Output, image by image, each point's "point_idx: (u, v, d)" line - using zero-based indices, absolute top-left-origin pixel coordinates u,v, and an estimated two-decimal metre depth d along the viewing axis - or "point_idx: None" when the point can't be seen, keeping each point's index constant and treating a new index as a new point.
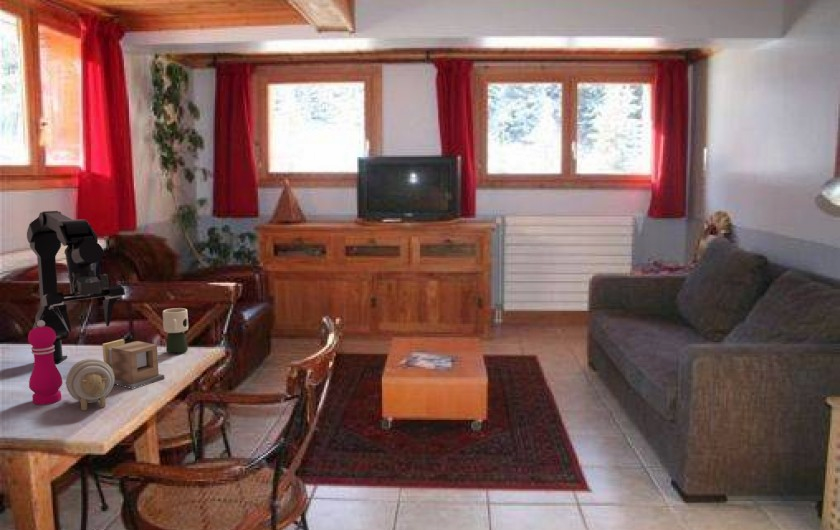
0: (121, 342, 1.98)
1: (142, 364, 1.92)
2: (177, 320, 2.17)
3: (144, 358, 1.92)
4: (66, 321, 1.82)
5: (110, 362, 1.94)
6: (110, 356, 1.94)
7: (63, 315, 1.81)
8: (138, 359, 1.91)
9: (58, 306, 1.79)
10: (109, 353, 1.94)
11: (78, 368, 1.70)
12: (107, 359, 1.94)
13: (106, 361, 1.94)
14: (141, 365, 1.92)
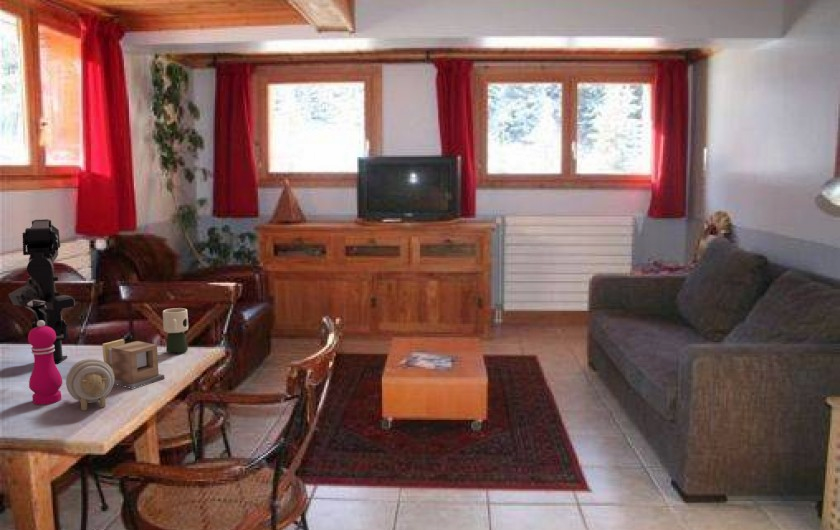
0: (121, 342, 1.98)
1: (142, 364, 1.92)
2: (177, 320, 2.17)
3: (144, 358, 1.92)
4: (38, 320, 1.98)
5: (110, 362, 1.94)
6: (110, 356, 1.94)
7: (35, 315, 1.97)
8: (138, 359, 1.91)
9: (26, 307, 1.96)
10: (109, 353, 1.94)
11: (78, 368, 1.70)
12: (107, 359, 1.94)
13: (106, 361, 1.94)
14: (141, 365, 1.92)
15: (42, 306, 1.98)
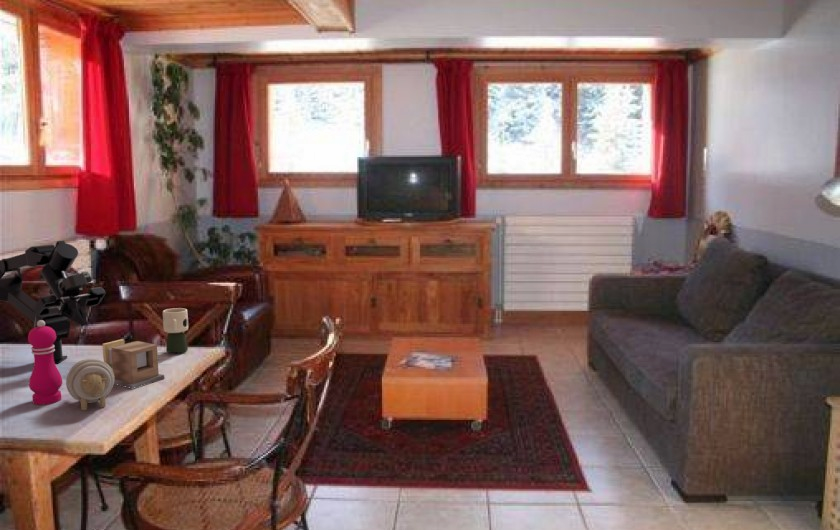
0: (121, 342, 1.98)
1: (142, 364, 1.92)
2: (177, 320, 2.17)
3: (144, 358, 1.92)
4: (79, 315, 2.01)
5: (110, 362, 1.94)
6: (110, 356, 1.94)
7: (74, 310, 2.00)
8: (138, 359, 1.91)
9: (69, 301, 1.99)
10: (109, 353, 1.94)
11: (78, 368, 1.70)
12: (107, 359, 1.94)
13: (106, 361, 1.94)
14: (141, 365, 1.92)
15: None
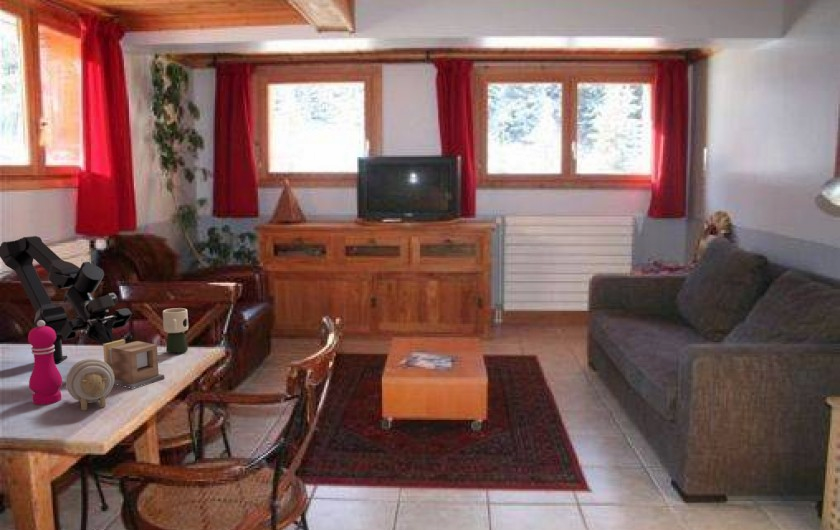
0: (122, 342, 1.97)
1: (143, 364, 1.92)
2: (177, 320, 2.17)
3: (145, 358, 1.92)
4: (106, 338, 1.96)
5: (111, 362, 1.94)
6: (111, 356, 1.94)
7: (102, 333, 1.96)
8: (139, 359, 1.90)
9: (96, 324, 1.95)
10: (110, 353, 1.94)
11: (78, 368, 1.70)
12: (108, 359, 1.94)
13: (107, 361, 1.94)
14: (142, 365, 1.91)
15: None
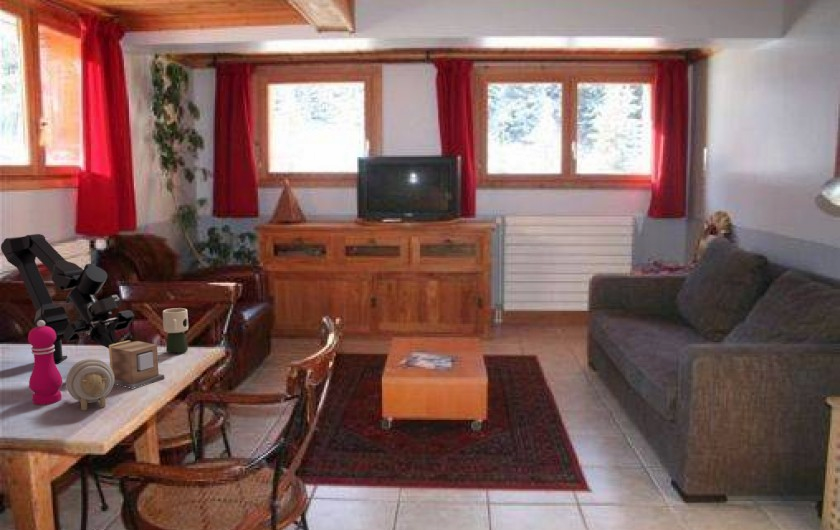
0: None
1: (149, 365, 1.90)
2: (177, 320, 2.17)
3: (151, 359, 1.91)
4: (109, 340, 1.95)
5: None
6: None
7: (104, 335, 1.95)
8: (145, 360, 1.89)
9: (98, 326, 1.94)
10: None
11: (78, 368, 1.70)
12: None
13: None
14: (148, 366, 1.90)
15: None
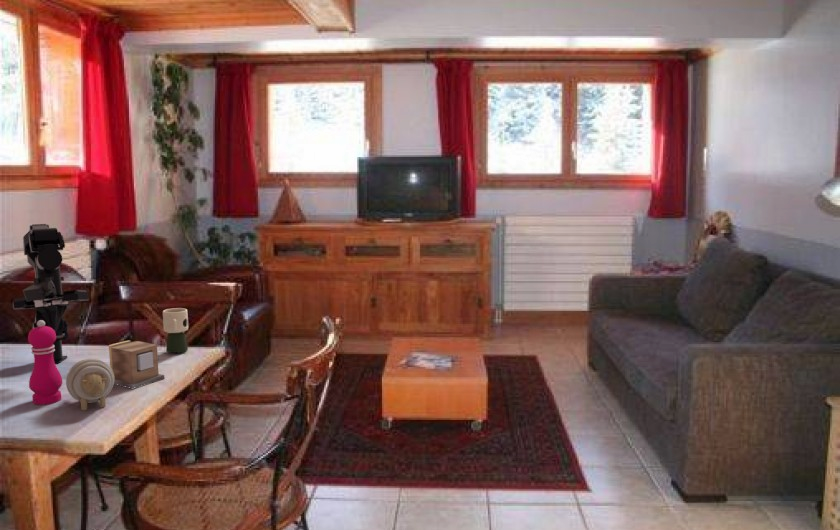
0: None
1: (149, 365, 1.90)
2: (177, 320, 2.17)
3: (151, 359, 1.91)
4: (47, 321, 1.95)
5: None
6: None
7: (44, 316, 1.95)
8: (145, 360, 1.89)
9: (36, 308, 1.94)
10: None
11: (78, 368, 1.70)
12: None
13: None
14: (148, 366, 1.90)
15: None
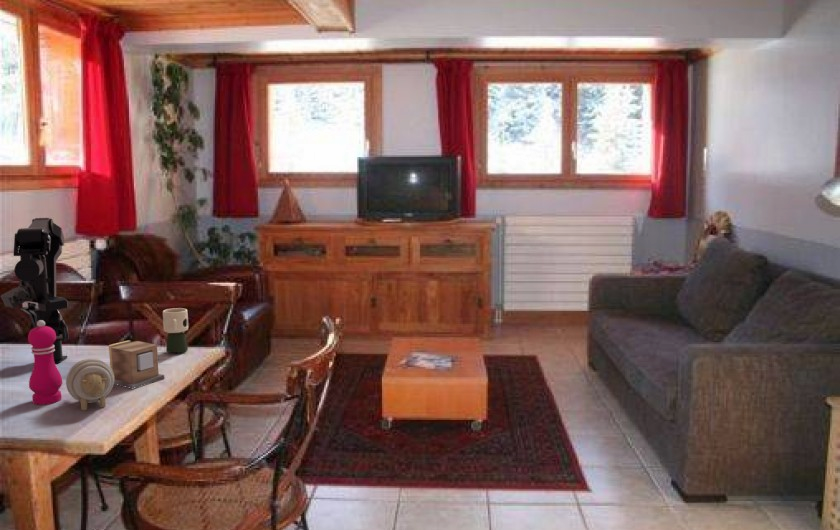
0: None
1: (149, 365, 1.90)
2: (177, 320, 2.17)
3: (151, 359, 1.91)
4: (33, 323, 1.95)
5: None
6: None
7: (30, 317, 1.95)
8: (145, 360, 1.89)
9: (21, 309, 1.94)
10: None
11: (78, 368, 1.70)
12: None
13: None
14: (148, 366, 1.90)
15: None
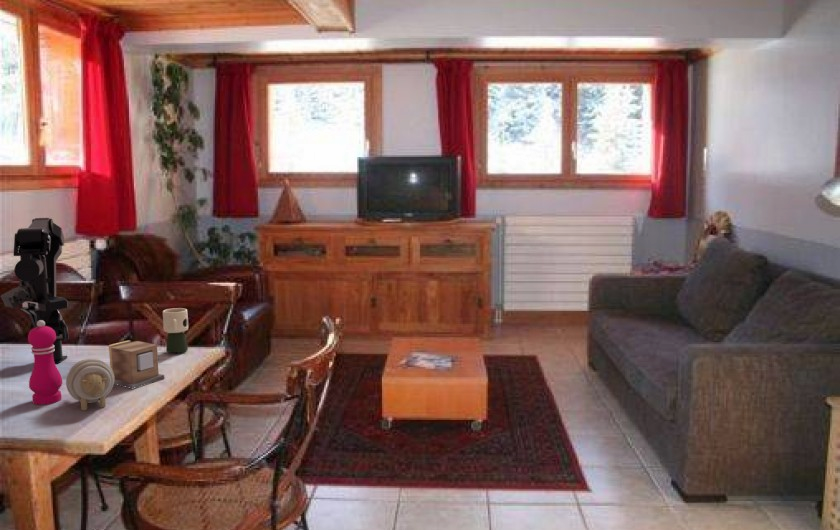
0: None
1: (149, 365, 1.90)
2: (177, 320, 2.17)
3: (151, 359, 1.91)
4: (33, 323, 1.95)
5: None
6: None
7: (30, 317, 1.95)
8: (145, 360, 1.89)
9: (21, 309, 1.94)
10: None
11: (78, 368, 1.70)
12: None
13: None
14: (148, 366, 1.90)
15: None
